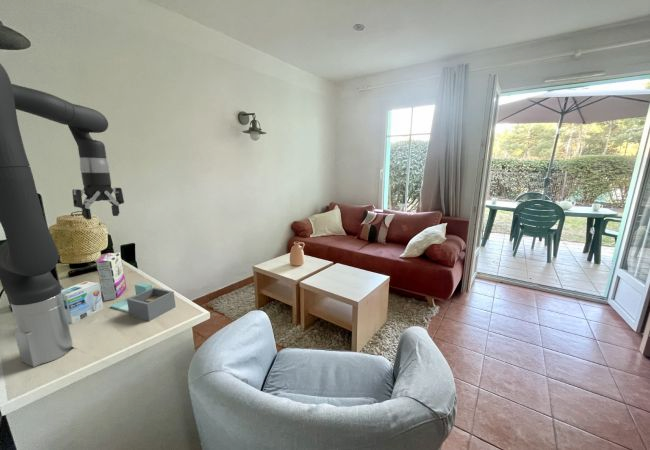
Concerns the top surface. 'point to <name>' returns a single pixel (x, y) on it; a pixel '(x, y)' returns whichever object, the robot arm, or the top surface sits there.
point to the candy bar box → (111, 276)
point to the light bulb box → (82, 300)
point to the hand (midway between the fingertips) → (102, 217)
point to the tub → (151, 304)
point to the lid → (139, 289)
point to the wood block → (151, 298)
